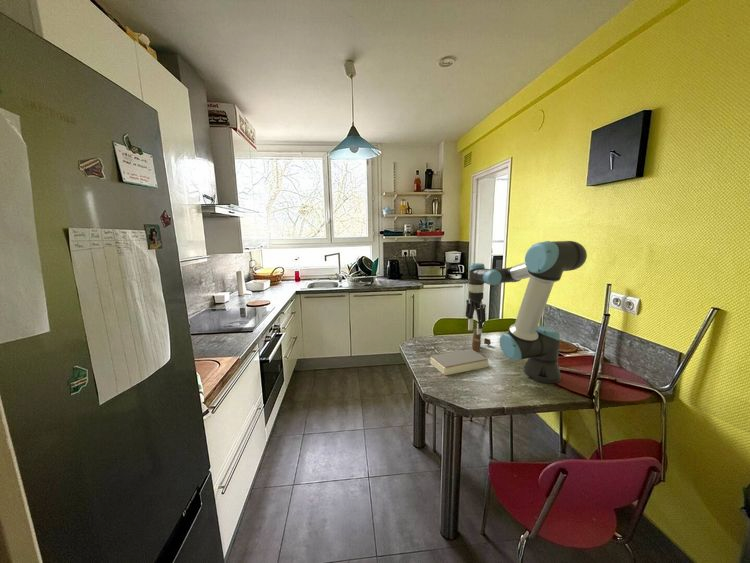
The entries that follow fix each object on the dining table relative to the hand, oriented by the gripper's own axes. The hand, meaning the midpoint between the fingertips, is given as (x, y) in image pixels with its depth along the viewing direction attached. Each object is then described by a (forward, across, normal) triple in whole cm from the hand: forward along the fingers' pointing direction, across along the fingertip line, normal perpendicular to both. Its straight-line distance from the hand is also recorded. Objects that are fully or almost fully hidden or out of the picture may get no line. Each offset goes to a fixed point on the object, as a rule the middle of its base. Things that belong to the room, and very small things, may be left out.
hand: (474, 331), depth 164 cm
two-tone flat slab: (+11, -13, +19) cm, 25 cm away
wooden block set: (+11, 0, -3) cm, 11 cm away
